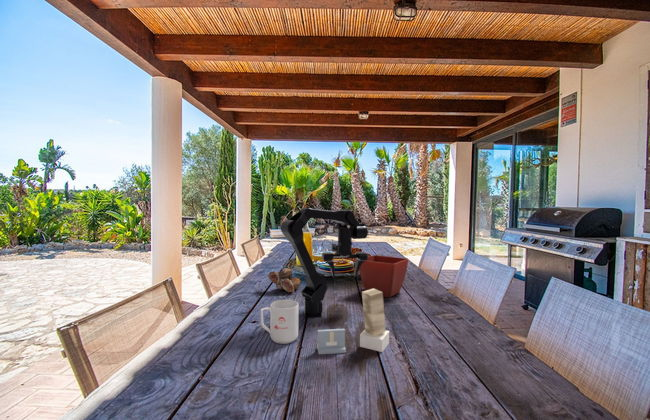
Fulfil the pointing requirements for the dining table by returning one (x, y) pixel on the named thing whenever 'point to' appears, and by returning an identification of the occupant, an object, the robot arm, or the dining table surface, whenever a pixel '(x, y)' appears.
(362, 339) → the white slab
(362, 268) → the plant pot
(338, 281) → the dining table surface
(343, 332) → the plaque
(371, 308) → the maple pillar
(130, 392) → the dining table surface
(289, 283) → the brown lumpy cluster
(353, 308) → the dining table surface
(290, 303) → the mug
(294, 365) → the dining table surface
